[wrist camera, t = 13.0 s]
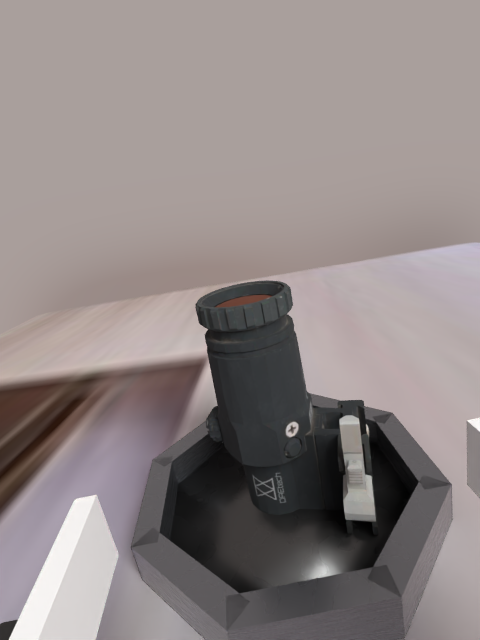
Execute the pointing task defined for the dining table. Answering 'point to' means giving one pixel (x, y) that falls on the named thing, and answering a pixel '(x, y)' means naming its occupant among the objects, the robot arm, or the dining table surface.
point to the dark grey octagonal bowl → (291, 544)
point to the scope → (281, 410)
